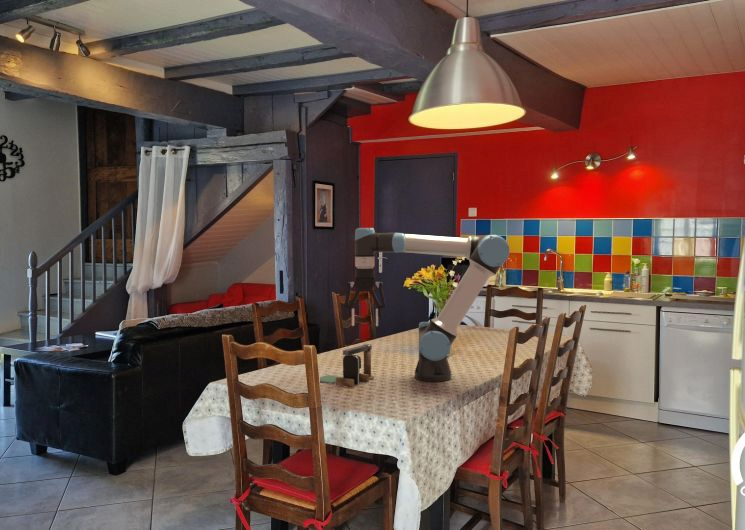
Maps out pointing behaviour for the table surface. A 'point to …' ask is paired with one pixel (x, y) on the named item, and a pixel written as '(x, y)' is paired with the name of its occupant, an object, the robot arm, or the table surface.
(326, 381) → the mat
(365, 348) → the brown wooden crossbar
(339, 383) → the cradle
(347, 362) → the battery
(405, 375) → the table surface
